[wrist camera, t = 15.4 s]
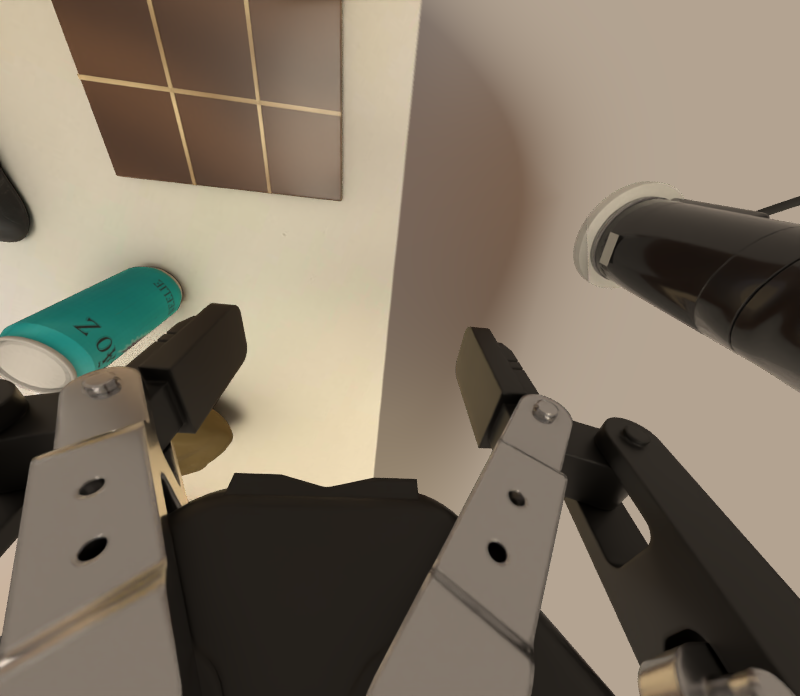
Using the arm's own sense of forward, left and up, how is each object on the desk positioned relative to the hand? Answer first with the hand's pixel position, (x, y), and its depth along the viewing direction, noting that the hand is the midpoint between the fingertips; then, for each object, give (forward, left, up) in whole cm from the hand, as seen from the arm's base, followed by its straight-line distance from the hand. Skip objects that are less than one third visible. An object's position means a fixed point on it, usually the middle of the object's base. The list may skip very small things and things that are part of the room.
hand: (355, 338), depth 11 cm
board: (+6, -16, -24) cm, 29 cm away
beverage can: (+25, -3, -24) cm, 35 cm away
